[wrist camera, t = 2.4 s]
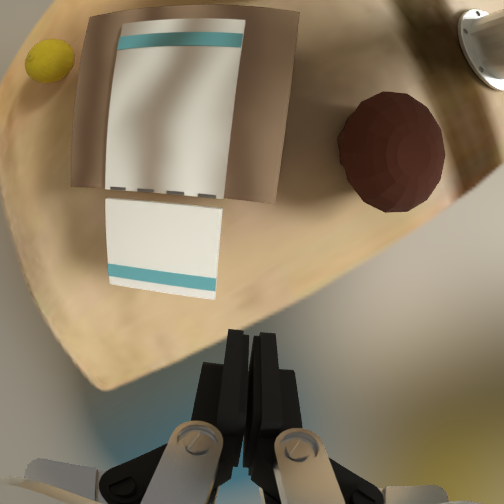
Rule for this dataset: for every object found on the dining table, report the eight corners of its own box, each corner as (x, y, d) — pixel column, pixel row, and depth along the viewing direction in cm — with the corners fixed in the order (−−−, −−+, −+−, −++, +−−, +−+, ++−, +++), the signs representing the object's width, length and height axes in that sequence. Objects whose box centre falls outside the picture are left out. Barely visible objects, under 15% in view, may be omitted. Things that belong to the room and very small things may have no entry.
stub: (222, 207, 24) (221, 209, 23) (215, 296, 27) (214, 300, 26) (107, 197, 23) (104, 199, 23) (112, 281, 26) (109, 284, 26)
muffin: (335, 86, 28) (365, 69, 19) (421, 113, 29) (471, 112, 19) (318, 189, 33) (340, 210, 23) (403, 207, 33) (446, 233, 24)
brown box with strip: (288, 45, 27) (300, 9, 17) (270, 184, 33) (275, 205, 23) (131, 42, 26) (86, 15, 17) (117, 171, 32) (67, 187, 22)
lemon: (80, 38, 26) (44, 24, 18) (89, 71, 28) (51, 61, 20) (49, 60, 26) (11, 52, 19) (56, 93, 28) (17, 90, 21)
